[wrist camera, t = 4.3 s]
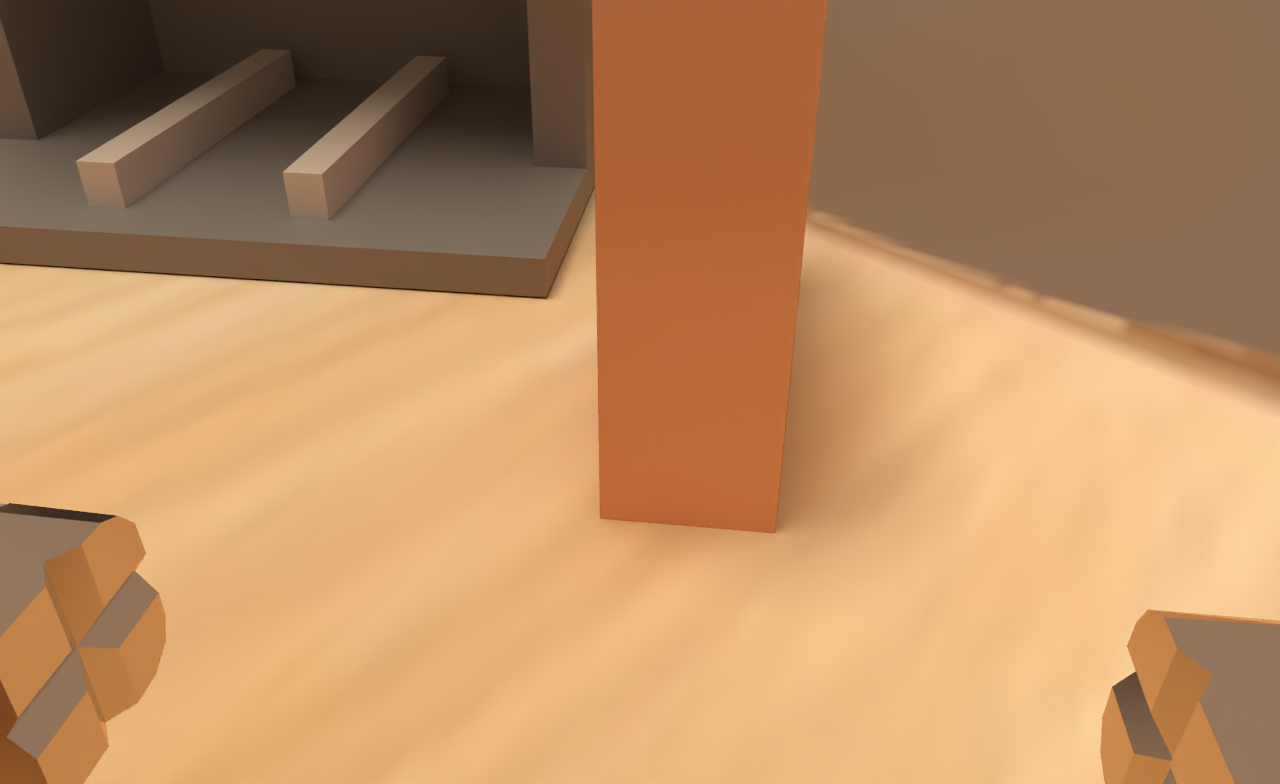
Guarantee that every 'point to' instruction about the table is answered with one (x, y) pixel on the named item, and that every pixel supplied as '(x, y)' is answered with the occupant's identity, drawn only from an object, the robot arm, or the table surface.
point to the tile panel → (699, 249)
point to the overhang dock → (299, 139)
